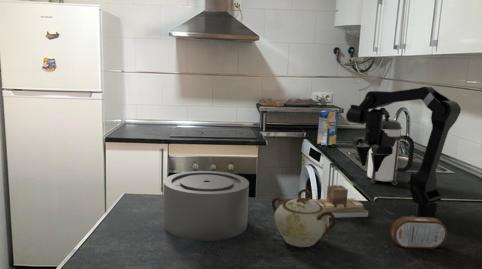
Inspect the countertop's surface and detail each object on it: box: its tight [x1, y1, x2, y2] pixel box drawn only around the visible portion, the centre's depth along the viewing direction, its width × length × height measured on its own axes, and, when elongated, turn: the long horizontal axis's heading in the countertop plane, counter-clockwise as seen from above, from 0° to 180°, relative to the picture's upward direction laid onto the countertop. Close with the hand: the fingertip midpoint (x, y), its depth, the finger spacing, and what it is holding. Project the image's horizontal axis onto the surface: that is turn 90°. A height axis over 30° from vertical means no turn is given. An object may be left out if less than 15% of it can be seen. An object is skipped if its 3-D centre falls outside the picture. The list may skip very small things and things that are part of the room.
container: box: [162, 170, 250, 242], centre depth 126 cm, size 25×25×13 cm
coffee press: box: [364, 114, 415, 186], centre depth 183 cm, size 17×16×30 cm
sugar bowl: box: [271, 188, 337, 248], centre depth 115 cm, size 20×15×15 cm
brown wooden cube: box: [325, 184, 349, 205], centre depth 140 cm, size 5×5×5 cm
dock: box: [328, 209, 369, 219], centre depth 141 cm, size 9×19×2 cm, turn 101°
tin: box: [389, 216, 448, 250], centre depth 116 cm, size 15×3×8 cm, turn 92°
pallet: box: [310, 197, 365, 211], centre depth 141 cm, size 7×17×2 cm, turn 101°
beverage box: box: [316, 110, 339, 146], centre depth 266 cm, size 7×11×22 cm, turn 136°
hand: (369, 168), depth 153 cm, fingers open, 9 cm apart
